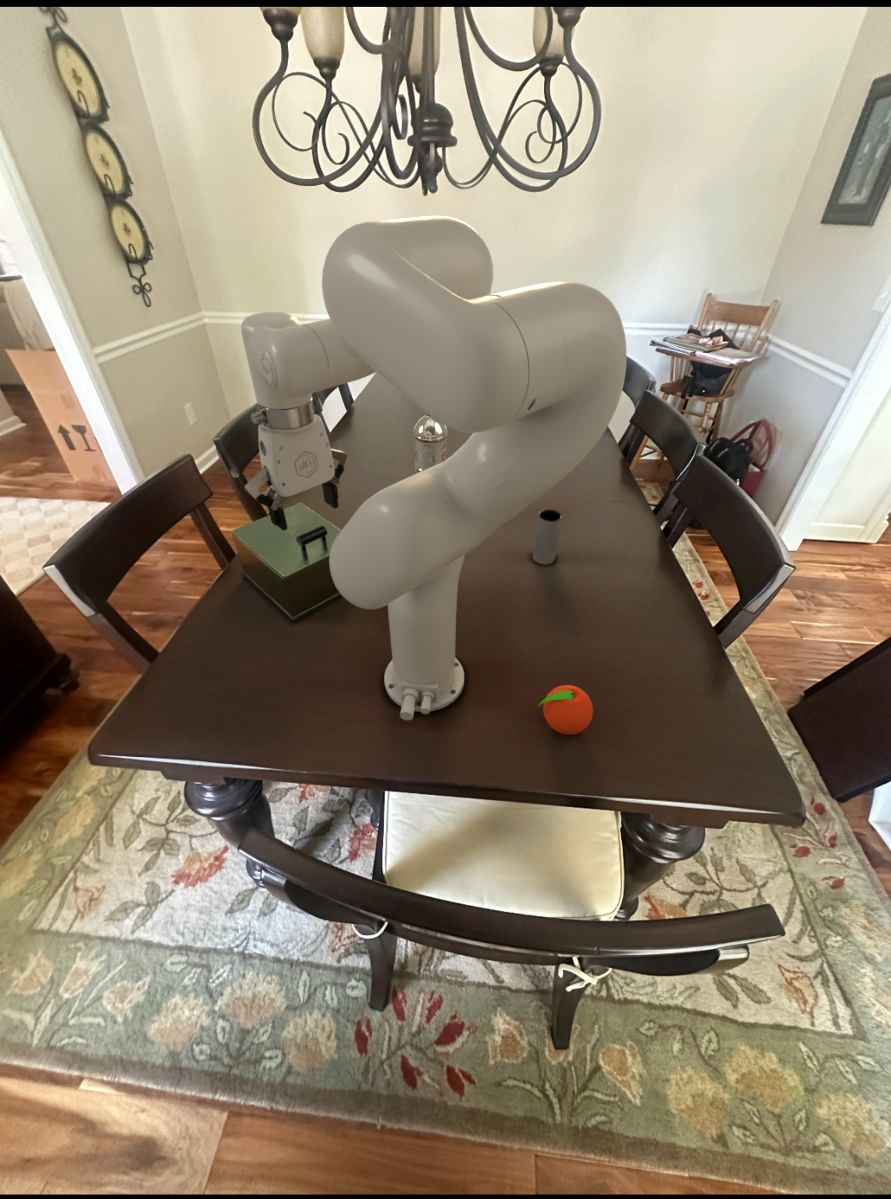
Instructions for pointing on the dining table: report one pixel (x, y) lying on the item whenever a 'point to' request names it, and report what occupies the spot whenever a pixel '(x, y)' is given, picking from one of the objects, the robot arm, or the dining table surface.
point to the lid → (290, 540)
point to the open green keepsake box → (290, 584)
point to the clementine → (567, 709)
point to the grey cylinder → (547, 536)
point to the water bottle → (429, 443)
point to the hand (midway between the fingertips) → (307, 515)
